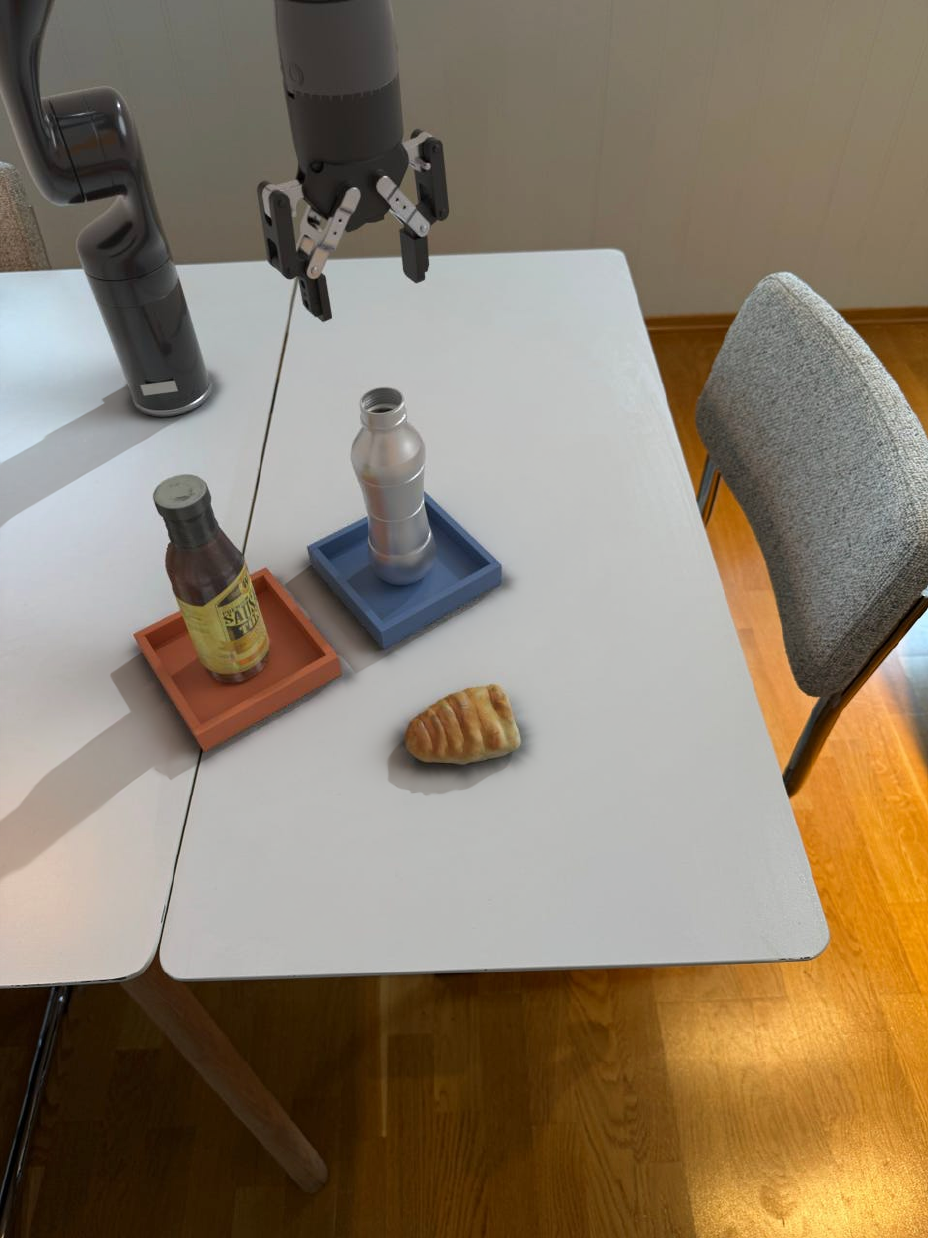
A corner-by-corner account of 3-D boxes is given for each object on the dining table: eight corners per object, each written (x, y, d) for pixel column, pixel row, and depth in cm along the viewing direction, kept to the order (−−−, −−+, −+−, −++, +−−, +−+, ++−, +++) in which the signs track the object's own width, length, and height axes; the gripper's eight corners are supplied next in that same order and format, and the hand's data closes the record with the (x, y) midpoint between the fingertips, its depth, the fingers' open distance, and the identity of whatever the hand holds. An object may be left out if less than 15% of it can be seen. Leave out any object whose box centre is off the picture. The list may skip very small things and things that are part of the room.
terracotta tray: (141, 651, 83) (132, 633, 81) (271, 584, 88) (266, 566, 86) (204, 752, 76) (196, 735, 74) (342, 673, 81) (338, 656, 79)
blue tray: (310, 564, 89) (306, 546, 87) (423, 506, 94) (421, 488, 92) (383, 650, 82) (380, 632, 80) (502, 582, 87) (502, 564, 85)
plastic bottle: (450, 559, 88) (438, 389, 73) (411, 604, 85) (390, 435, 69) (397, 536, 91) (374, 366, 75) (356, 578, 87) (324, 410, 72)
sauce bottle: (259, 692, 79) (200, 530, 64) (193, 682, 80) (119, 520, 65) (283, 635, 83) (233, 469, 68) (220, 626, 84) (156, 461, 69)
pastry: (418, 786, 73) (414, 762, 70) (396, 721, 77) (391, 695, 74) (526, 753, 75) (527, 727, 72) (499, 690, 79) (498, 664, 76)
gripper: (400, 24, 62) (417, 248, 74) (213, 77, 57) (265, 308, 70) (464, 55, 58) (470, 286, 71) (268, 115, 53) (313, 352, 66)
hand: (368, 296), depth 70 cm, fingers open, 8 cm apart
